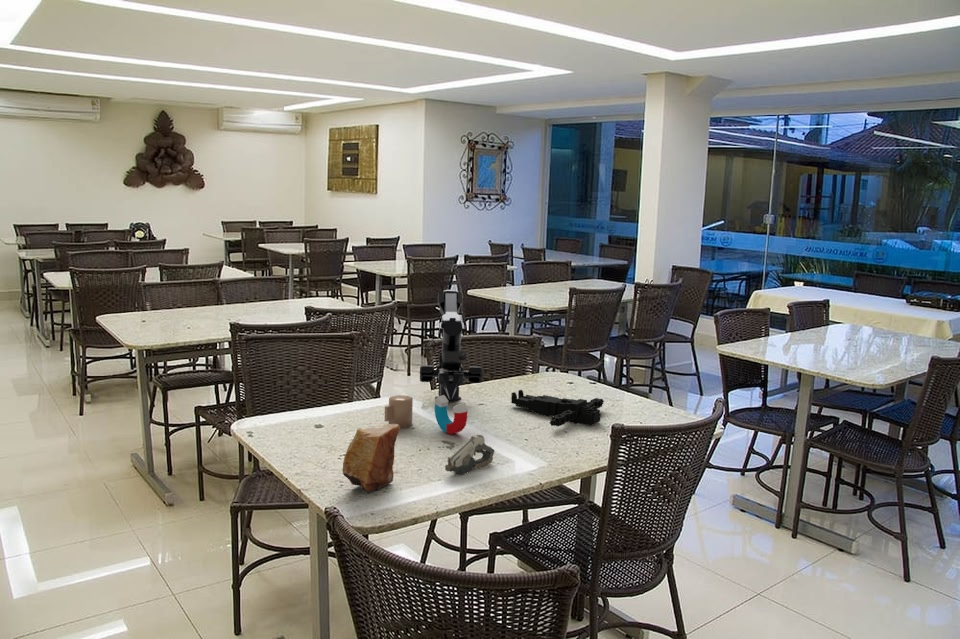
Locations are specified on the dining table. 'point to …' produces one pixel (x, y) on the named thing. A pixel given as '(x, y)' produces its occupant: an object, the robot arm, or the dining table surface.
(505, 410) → the dining table surface
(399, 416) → the cup
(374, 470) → the stone
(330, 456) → the dining table surface
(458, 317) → the robot arm
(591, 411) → the toy
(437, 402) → the magnet
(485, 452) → the futuristic pistol
